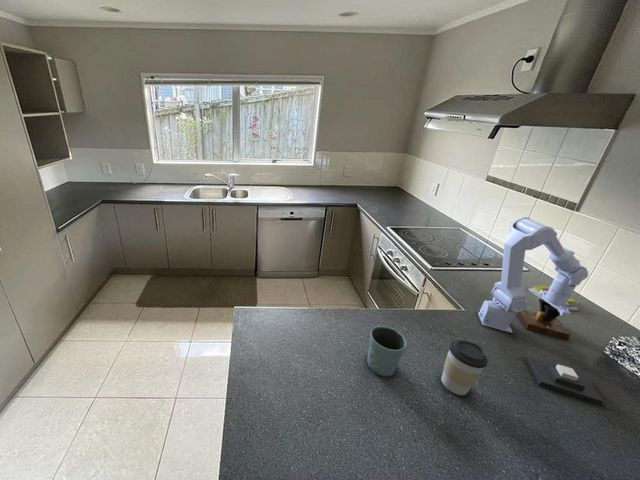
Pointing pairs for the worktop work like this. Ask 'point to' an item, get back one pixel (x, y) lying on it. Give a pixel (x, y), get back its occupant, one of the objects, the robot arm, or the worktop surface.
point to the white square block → (566, 372)
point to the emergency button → (537, 289)
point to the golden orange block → (540, 317)
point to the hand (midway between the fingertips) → (544, 319)
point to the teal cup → (385, 350)
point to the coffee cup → (463, 366)
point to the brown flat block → (543, 325)
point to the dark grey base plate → (563, 381)
